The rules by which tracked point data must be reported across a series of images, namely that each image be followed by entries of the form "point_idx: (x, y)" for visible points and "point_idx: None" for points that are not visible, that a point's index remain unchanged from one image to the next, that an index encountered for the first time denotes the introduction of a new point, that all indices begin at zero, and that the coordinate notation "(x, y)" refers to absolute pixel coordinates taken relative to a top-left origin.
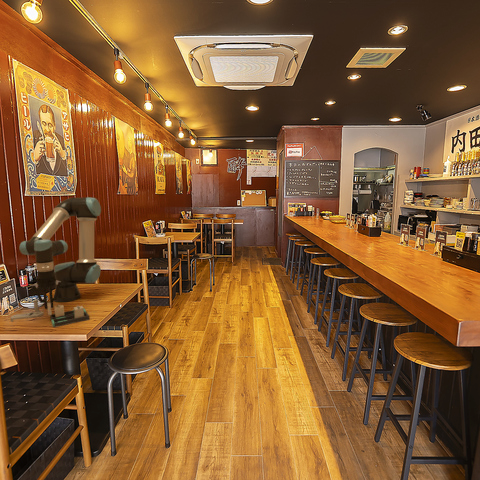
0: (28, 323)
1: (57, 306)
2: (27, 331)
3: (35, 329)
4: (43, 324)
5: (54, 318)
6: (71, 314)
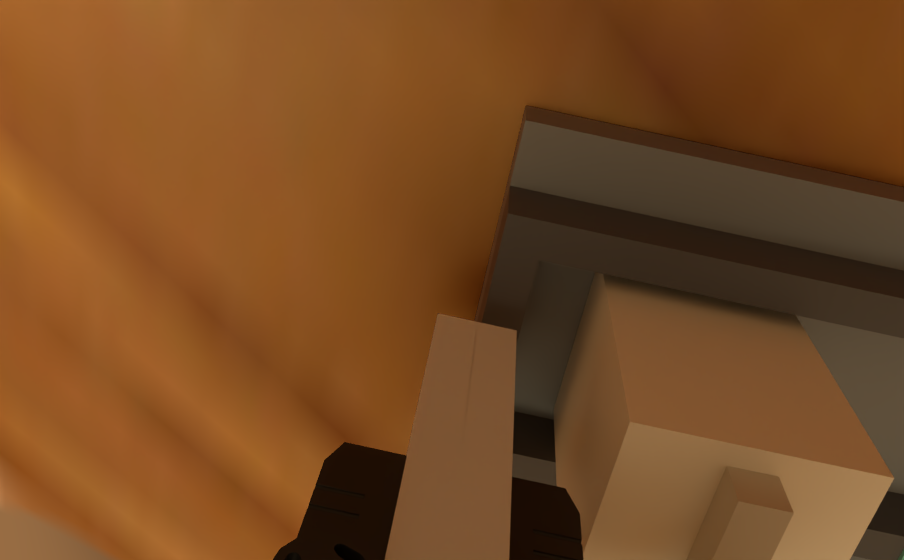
0: (82, 7)
1: (697, 501)
2: (54, 426)
3: (174, 441)
4: (330, 319)
5: (512, 473)
6: (853, 555)
